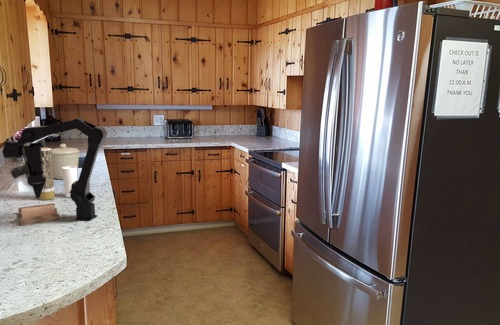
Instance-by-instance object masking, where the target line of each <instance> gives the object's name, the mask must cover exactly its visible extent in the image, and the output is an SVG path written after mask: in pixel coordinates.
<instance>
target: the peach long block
mask: <svg viewBox="0 0 500 325" xmlns="http://www.w3.org/2000/svg"><path fill="white" fill-rule="evenodd" d="M55 206H56V205H55ZM55 206H54V205H47V206H39V207H31V208H23V209H21V212H22V219H23V218H30V217H37V216H44V215H52V214H55V208H56V207H55Z"/></svg>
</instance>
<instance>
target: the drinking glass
mask: <svg viewBox="0 0 500 325" xmlns="http://www.w3.org/2000/svg"><path fill="white" fill-rule="evenodd" d="M62 177H63V179H62V183H63V187H64V195H65V196H64V197H66V198H69V199H71V198H70V194H71V193H69V192H70V191H71V186H72V183H74V182H75V181H78V173H77V168H76V167H75V166H67V167H62Z"/></svg>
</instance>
